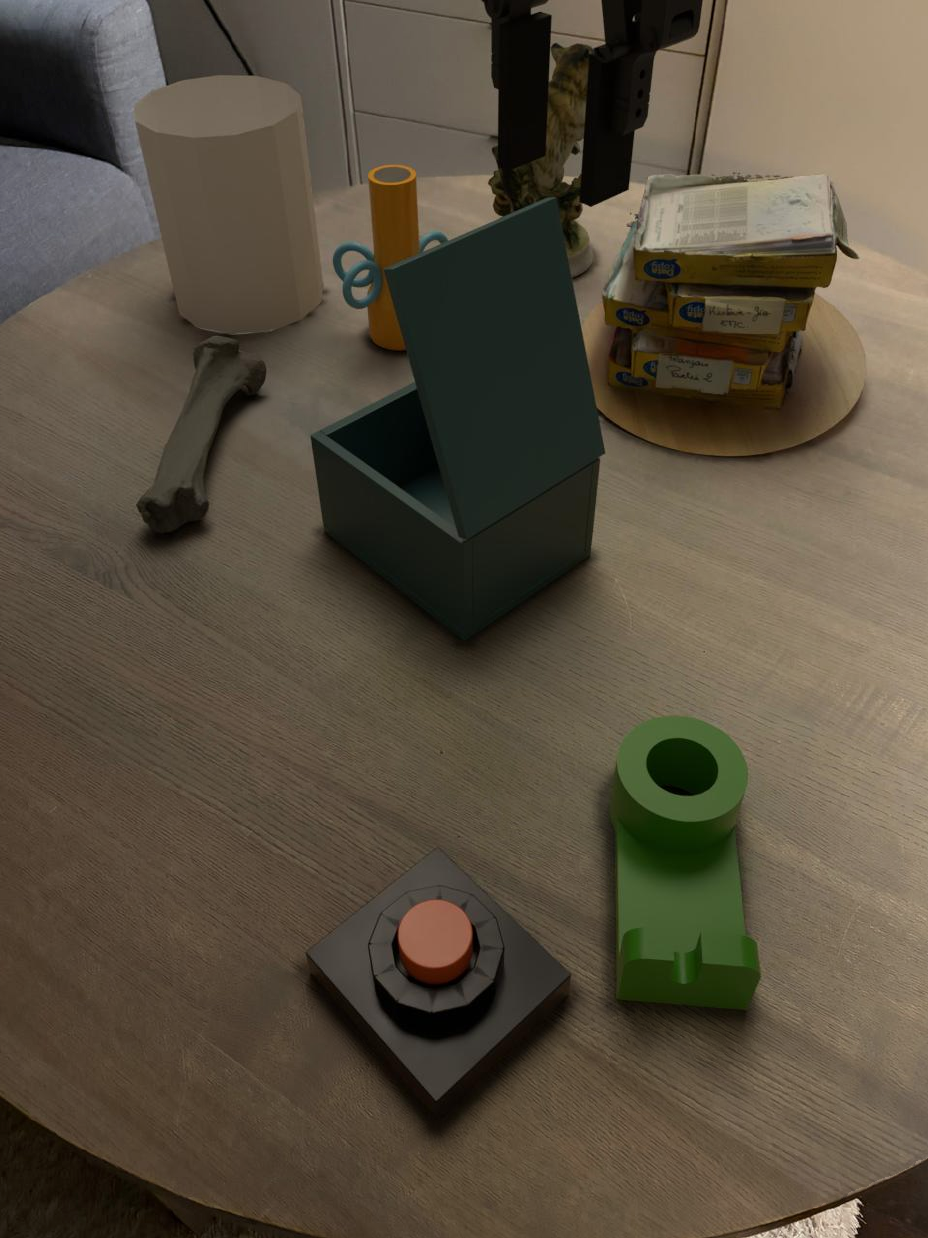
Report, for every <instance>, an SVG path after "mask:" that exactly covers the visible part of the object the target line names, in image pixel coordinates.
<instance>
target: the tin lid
mask: <svg viewBox="0 0 928 1238" xmlns="http://www.w3.org/2000/svg"><path fill="white" fill-rule="evenodd" d="M501 217H502V218H501ZM501 217H499V218H497V219H495V220H493V221H490V222H488V223H486V224H483V225H481V226H479V227H477V228H474V229H472V230H469V231H467V232H465V233H463V234H460V235H458V236H455V237H454V238H452V239H448V241H447V242H444V243H442V244H437V245H435V246H432V247H431V248H428V249H426V250H424V251H423V252H421V253H419V254H417V255H415V256H412V257H410V258H408V259H405V260H403V261H401V262H398V263H396V264H394V265H392V266H389V267H387V268H385V269H384V273H385V277H386V280H387V284H388V287H389V291H390V295H391V298H392V302H393V305H394V309H395V312H396V316H397V319H398V323H399V327H400V330H401V334H402V337H403V341H404V344H405V348H406V350H405V351H406V354H407V358H408V362H409V366H410V369H411V373H412V376H413V381H414V382H415V383H416V387H417V391H418V394H419V398H420V401H421V405H422V408H423V412H424V415H425V419H426V423H427V426H428V430H429V433H430V437H431V440H432V444H433V447H434V451H435V455H436V458H437V462H438V465H439V469H440V472H441V476H442V479H443V483H444V487H445V490H446V494H447V497H448V501H449V504H450V508H451V511H452V515H453V519H454V522H455V526H456V529H457V533H458V536H459V538H463V539H466V540H467V539H469V538H470V537H472V536H474V535H475V534H477V533H478V532H480V531H482V530H483V529H485V528H486V527H488V526H490V525H491V524H493V523H494V522H496V521H498V520H499V519H501V518H502V517H504V516H506V515H507V514H509V513H510V512H512V511H514V510H515V509H517V508H518V507H520V506H522V505H523V504H525V503H527V502H528V501H530V500H531V499H533V498H535V497H536V496H538V495H539V494H541V493H543V492H544V491H546V490H547V489H549V488H551V487H552V486H554V485H555V484H557V483H559V482H560V481H562V480H563V479H565V478H567V477H568V476H570V475H571V474H573V473H575V472H576V471H578V470H580V469H581V468H583V467H584V466H586V465H588V464H589V463H591V462H592V461H594V460H596V459H597V458H601V457H603V455H605V454H606V449H605V444H604V439H603V434H602V428H601V423H600V418H599V413H598V412H599V411H598V408H597V406H596V401H595V396H594V391H593V386H592V380H591V375H590V370H589V365H588V360H587V354H586V349H585V344H584V339H583V334H582V328H581V326H582V324H581V319H580V314H579V308H578V303H577V297H576V292H575V288H574V283H573V282H574V281H573V277H572V276H571V271H570V266H569V261H568V256H567V250H566V245H565V240H564V235H563V230H562V224H561V219H560V214H559V209H558V204H557V198H556V197H549V198H545V199H543V200H541V201H538V202H536V203H534V204H531V205H529V206H527V207H525V208H522V209H520V210H518V211H515V212H513V213H511V214H508V215H506V216H504V217H503V216H501Z"/></svg>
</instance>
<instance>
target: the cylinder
mask: <svg viewBox="0 0 928 1238" xmlns="http://www.w3.org/2000/svg"><path fill="white" fill-rule="evenodd" d="M367 179H368V190H369V205H370V217H371V219H370V220H371V231H372V232H371V233H372V244H373V252H372V251H371V249H370V248H368V247H367V246H365V244H363V243H360V242H357V241H346V242H343V243H341V244H339V246H337V247H336V249H335V250H334V253H333V256H332V266H333V269H334V272H335V274H336V275H337V277H338V278H339V279H340V280H341V281H342V297H343V299H344V301H345V303H346V304H347V305H348V306H349V307H351V308H352V309H356V310H362V309H366V308H367V318H368V320H367V321H368V330H369V337H370V339H371V341H372V342H373V343H374V344H376V345H377V346H378V347H380V348H383V349H386V350H391V351H406V348H405V344H404V341H403V337H402V334H401V330H400V327H399V323H398V319H397V316H396V312H395V309H394V305H393V302H392V298H391V295H390V291H389V287H388V284H387V280H386V277H385V273H384V269H385V268H387V267H389V266H392V265H394V264H396V263H398V262H401V261H403V260H405V259H408V258H410V257H412V256H415V255H417V254H419V253H421V252H424V251H425V249H426V247H427V246H428V245H429V244H430V243H431V242H433V241H437V242H438V243H440V244H442V243H444V242H447V241H449V239H448V237H447V235H446V234H444V233H443V232H441V231H439V230H433V231H429V232H427V233H425V234H424V235H423V236H422V237H421V238H420V229H419V205H418V187H417V183H418V182H417V171H416V170H415V169H413V168H412V167H410V166H407V165H402V164H385V165H380V166H377V167H375V168H373V169H372V170H370V171H369V172H368V174H367ZM440 244H439V245H440ZM347 252H357V253H359V254H360V255H362V256H363V257H364V258H365V259H364V260H360V261H358V262H356V263H355V264H353V265H352V266H351V267H350V268H349V269H348V271H347V272H346V270H345V269H344V266H343V264H342V259H343V256H344V255H345V254H346V253H347ZM363 271H368V273H367V275H365V276H364V277H362V278H361V277H360V278H357V276H358V275H359V274H360V273H362V272H363ZM368 286H369V288H368V290H367V293H366V296H365V297H364V298H361V299H356V298H355V297H354V295H353V293H352V289H353V288H365V287H368Z"/></svg>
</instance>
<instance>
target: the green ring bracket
mask: <svg viewBox="0 0 928 1238" xmlns="http://www.w3.org/2000/svg"><path fill="white" fill-rule="evenodd" d="M736 743H737V742H735V741H734V739H733V738H731V737H730V736H729V735H728V734H727V733H726V732H724V731H723V730H721V729H720V728H718V727H717V726H715V725H713V724H711V723H709V722H707V721H704V720H702V719H699V718H696V717H690V716H685V715H663V716H657V717H653V718H650V719H647V720H644V721H643V722H641V723H639V724H637V725H636V726H634V728H632V729H631V730H629V732H628V733H627V734H626V735H625V736H624V737H623V740H622V741H621V743H620V746H619V747H618V751H617V755H616V762H615V768H614V775H613V781H612V787H611V793H610V800H609V818H610V822H611V825H612V829H613V830H614V864H615V865H614V866H615V867H614V868H615V871H614V872H615V873H614V874H615V876H614V877H615V879H614V880H615V882H614V883H615V963H616V964H615V967H616V968H615V969H616V970H615V974H616V976H615V977H616V979H615V980H616V981H615V982H616V983H615V984H616V1000H621V1001H622V1000H623V1001H634V1002H644V1003H645V1002H646V1003H657V1004H670V1005H682V1006H693V1007H705V1008H716V1009H717V1008H718V1009H719V1008H720V1009H728V1010H729V1009H731V1010H741V1011H747V1010H748V1008H749V1006H750V1003H751V1001H752V999H753V996H754V995H755V992H756V990H757V987H758V985H759V982H760V981H761V979H762V974H761V973H762V972H761V966H760V956H759V955H760V954H759V947H758V942H757V941H756V940H755V938H752V937H750V936H748V935H746V934H747V933H746V925H745V917H744V906H743V897H742V895H743V894H742V886H741V877H740V866H739V858H738V857H739V856H738V849H737V848H738V847H737V837H736V829H735V826H736V822H737V819H738V816H739V814H740V809H741V807H742V803H743V800H744V797H745V793H746V790H747V787H748V784H749V769H748V764H747V760H746V758H745V756H744V754H743V752H742V750H741V748H740V747H739V745H737V744H736ZM662 787H674V788H675V787H676V788H679V789H682V790H684V791H686V792H688V793H690V794H691V795H679V794H675V793H672V792H669V791H667V790H665V789H664V788H662Z"/></svg>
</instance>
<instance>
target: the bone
mask: <svg viewBox="0 0 928 1238" xmlns="http://www.w3.org/2000/svg"><path fill="white" fill-rule="evenodd" d="M240 347H241V344H240V342H239V341H238V340H236V339H233V338H231V337H226V336H220V335H212V336H210V337H209V338H207V339H204V340H203V341H200V342H199V343H198V344H196V346H195V347H194V350H193V352H192V358H193V365H194V368H195V372H194V374H193V377H192V380H191V383H190V387H189V391H188V394H187V397H186V400H185V401H184V405H183V407H182V409H181V412H180V414H179V416H178V418H177V420H176V423H175V425H174V427H173V429H172V431H171V433H170V436H169V437H168V440H167V442H166V443H165V445H164V447H163V451H162V455H161V458H160V461H159V463H158V466H157V470H156V475H155V478H154V482H153V484H152V485H151V487H150V488H148V489H147V491H146V492H145V493H144V494H143V495H142V496H140V498H139V499H138V501H137V503H136V508H137V510H138V512H139V513H140V515H141V518H142V521H143V522H144V523H145V524H147V525H148V526H149V528H150V529H151V530H152V531H153V532H155V533H157V534H165V533H171V532H174V531H176V530H177V529H179V528H180V527H181V526H182V525H183V524H185V523H188V522H191V521H200V520H202V519H204V518H205V516H206V515H207V512H208V511H209V507H210V502H209V500H208V498H207V496H206V492H205V487H204V474H205V471H206V466H207V462H208V461H207V460H208V455H209V451H210V449H211V447H212V444H213V442H214V440H215V436H216V434H217V431H218V427H219V424H220V422H221V418H222V415H223V410H224V409H225V407H226V405H227V403H229V400H230V399H231V398H232V397H233V395H234V394H235V393H236V392H237V391H239V390H240V389H241V388H242V387H244V386H245V387H246V389H247V393H248V395H249V396H253V395H254V396H255V395H256V394H257V393H258V392H260V390H262V389H261V388H262V387H263V386H264V384H265V381H266V377H267V366H266V363H265V361H264V360H263V359H262V358H261V357H260V356H259V355H257V354H252V353H249V352H246V351H241V350H240Z"/></svg>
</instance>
